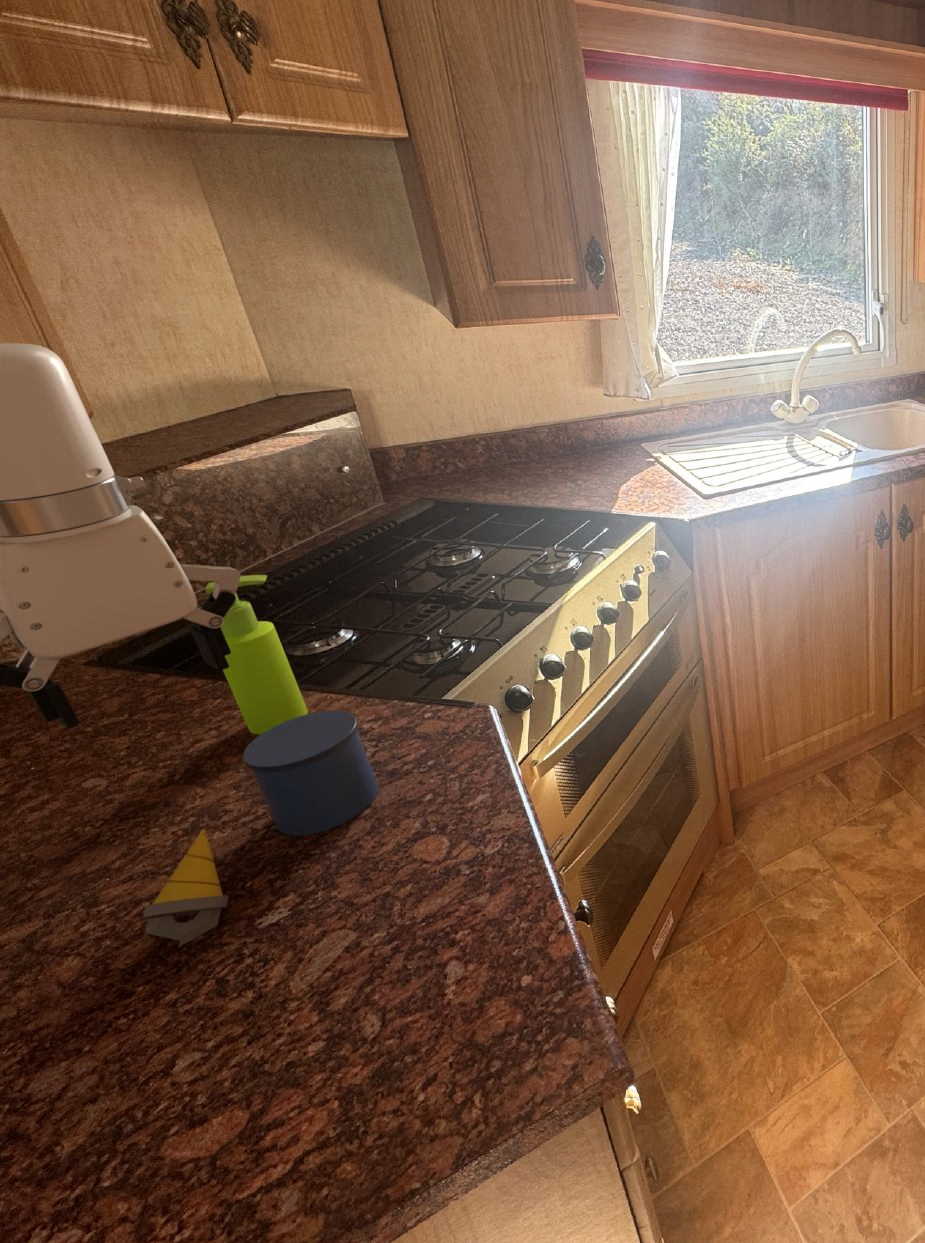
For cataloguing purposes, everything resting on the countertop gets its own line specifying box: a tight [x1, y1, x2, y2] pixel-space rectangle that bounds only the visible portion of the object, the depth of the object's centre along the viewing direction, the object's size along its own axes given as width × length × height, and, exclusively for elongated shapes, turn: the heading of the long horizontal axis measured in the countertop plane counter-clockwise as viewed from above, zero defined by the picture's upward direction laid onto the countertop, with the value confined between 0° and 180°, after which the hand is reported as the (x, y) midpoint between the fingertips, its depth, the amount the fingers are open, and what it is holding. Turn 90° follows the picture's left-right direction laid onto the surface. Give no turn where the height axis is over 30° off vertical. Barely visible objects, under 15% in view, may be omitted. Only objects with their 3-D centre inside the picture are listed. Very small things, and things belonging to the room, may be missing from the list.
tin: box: [242, 710, 380, 837], centre depth 80 cm, size 9×9×9 cm
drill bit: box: [142, 828, 229, 948], centre depth 67 cm, size 5×5×10 cm
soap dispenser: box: [204, 574, 309, 735], centre depth 92 cm, size 6×7×20 cm
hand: (147, 692), depth 64 cm, fingers open, 9 cm apart
